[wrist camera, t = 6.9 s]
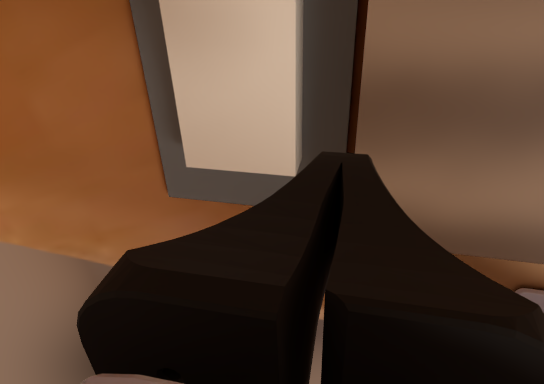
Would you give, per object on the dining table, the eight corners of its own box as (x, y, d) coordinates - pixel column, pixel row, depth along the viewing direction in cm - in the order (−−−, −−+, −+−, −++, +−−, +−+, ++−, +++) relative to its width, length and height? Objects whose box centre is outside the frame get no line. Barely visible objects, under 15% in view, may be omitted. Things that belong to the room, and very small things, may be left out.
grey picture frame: (341, 210, 24) (341, 214, 24) (171, 193, 26) (168, 196, 26) (368, -132, 15) (368, -134, 15) (111, -115, 18) (106, -116, 17)
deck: (543, 216, 21) (573, 267, 18) (351, 197, 23) (346, 241, 20) (679, -117, 14) (774, -133, 10) (378, -101, 16) (378, -110, 12)
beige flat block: (186, 166, 22) (200, 150, 23) (295, 176, 20) (301, 158, 22) (155, -21, 17) (175, -25, 19) (295, -22, 16) (303, -27, 17)
